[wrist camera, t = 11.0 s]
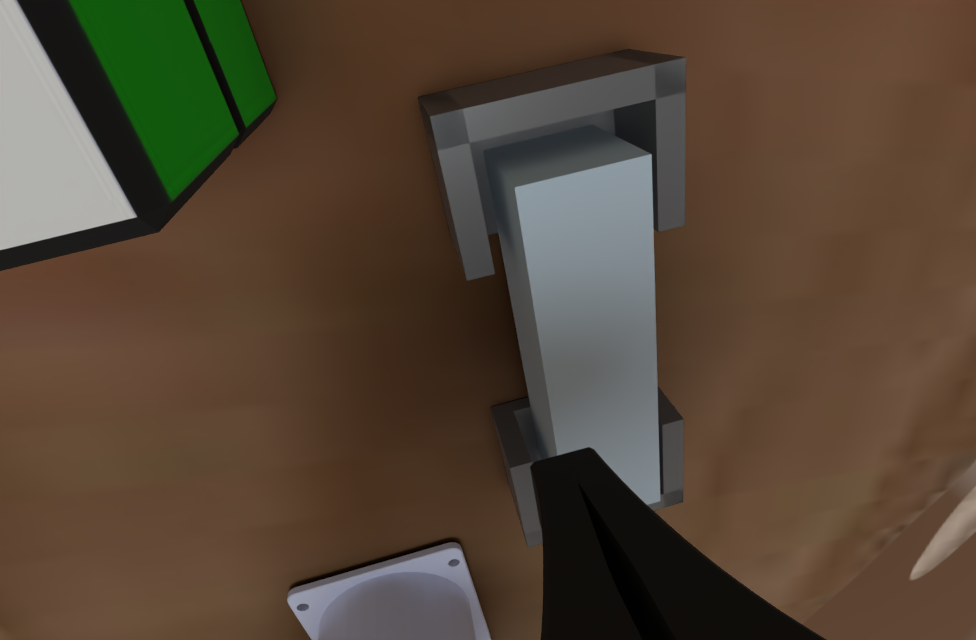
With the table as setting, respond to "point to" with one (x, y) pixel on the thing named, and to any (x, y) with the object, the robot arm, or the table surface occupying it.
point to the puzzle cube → (117, 115)
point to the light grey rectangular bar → (584, 294)
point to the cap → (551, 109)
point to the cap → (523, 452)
